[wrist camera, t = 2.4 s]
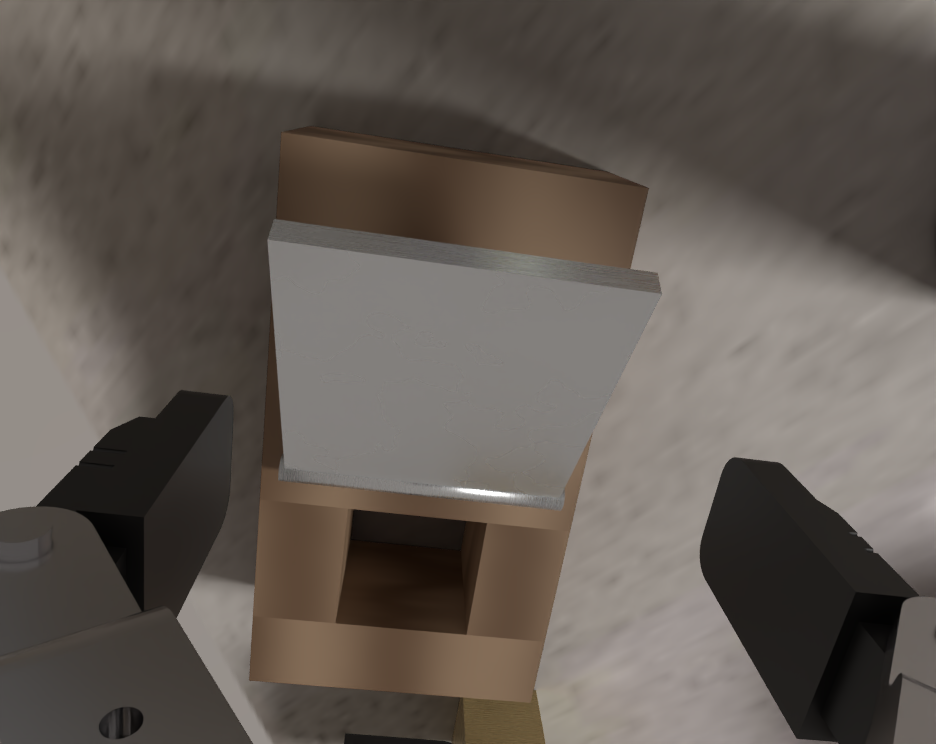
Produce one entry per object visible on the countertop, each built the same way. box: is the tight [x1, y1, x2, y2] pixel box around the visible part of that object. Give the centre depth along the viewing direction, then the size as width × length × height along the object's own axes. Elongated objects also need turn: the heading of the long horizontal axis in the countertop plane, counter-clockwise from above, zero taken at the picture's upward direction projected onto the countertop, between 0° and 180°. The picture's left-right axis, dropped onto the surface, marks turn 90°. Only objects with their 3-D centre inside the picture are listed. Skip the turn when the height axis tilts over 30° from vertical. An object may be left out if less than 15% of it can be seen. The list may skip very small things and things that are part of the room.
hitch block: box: [249, 126, 649, 703], centre depth 30 cm, size 12×22×6 cm, turn 171°
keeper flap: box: [267, 219, 662, 511], centre depth 23 cm, size 10×12×1 cm
